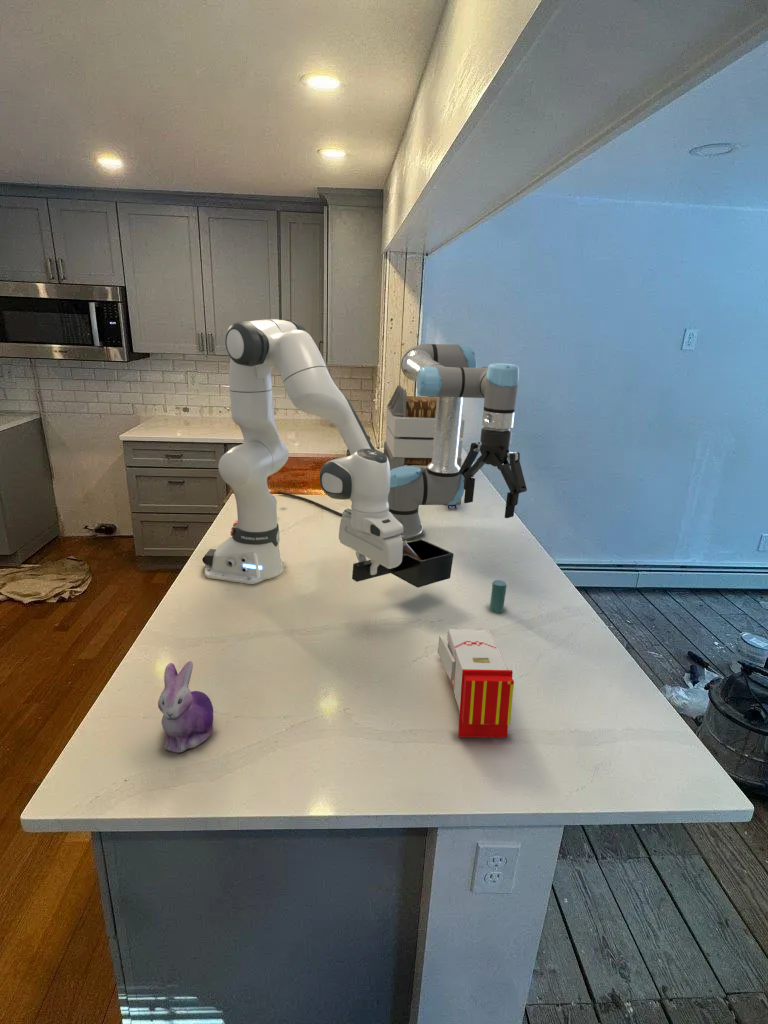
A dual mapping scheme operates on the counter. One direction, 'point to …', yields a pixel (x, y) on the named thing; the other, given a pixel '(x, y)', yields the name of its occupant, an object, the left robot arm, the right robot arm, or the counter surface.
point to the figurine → (184, 711)
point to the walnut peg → (409, 551)
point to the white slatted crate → (412, 430)
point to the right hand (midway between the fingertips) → (488, 509)
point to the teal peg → (498, 596)
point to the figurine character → (455, 505)
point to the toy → (478, 682)
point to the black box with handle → (413, 565)
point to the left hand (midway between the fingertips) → (367, 571)
